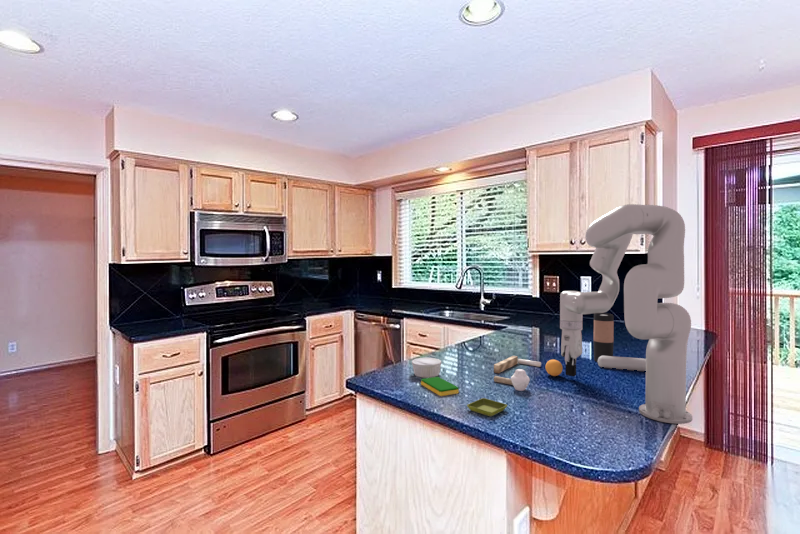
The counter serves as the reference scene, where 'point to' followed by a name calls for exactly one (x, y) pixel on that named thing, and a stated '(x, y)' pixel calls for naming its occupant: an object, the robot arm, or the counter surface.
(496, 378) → the birch pin
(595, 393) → the counter surface
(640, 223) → the robot arm
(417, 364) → the ramekin
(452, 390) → the dish sponge
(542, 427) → the counter surface
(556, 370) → the ball
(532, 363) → the white pin
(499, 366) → the rail
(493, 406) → the olive square dish
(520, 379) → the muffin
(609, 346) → the travel mug
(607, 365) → the tube
